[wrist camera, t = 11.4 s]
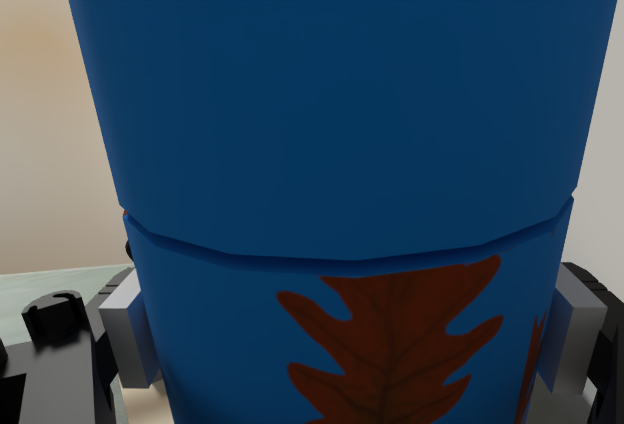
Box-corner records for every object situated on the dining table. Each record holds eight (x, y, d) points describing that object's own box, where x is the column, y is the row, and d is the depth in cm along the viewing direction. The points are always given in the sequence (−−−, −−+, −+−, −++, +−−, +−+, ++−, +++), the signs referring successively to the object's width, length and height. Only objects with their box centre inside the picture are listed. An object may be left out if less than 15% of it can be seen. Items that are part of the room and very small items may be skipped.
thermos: (246, 436, 22) (161, -103, 13) (435, 432, 22) (491, -125, 13) (187, 752, 12) (-395, -654, 3) (536, 754, 12) (1190, -834, 2)
